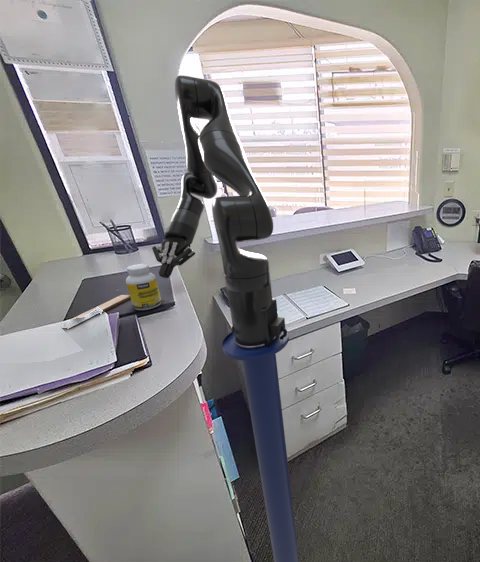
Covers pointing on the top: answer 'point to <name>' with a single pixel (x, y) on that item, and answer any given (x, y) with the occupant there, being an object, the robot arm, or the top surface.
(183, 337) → the top surface
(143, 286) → the pill bottle
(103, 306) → the ruler
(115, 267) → the top surface
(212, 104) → the robot arm
